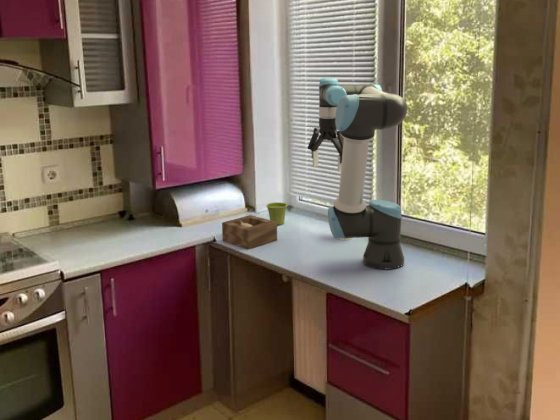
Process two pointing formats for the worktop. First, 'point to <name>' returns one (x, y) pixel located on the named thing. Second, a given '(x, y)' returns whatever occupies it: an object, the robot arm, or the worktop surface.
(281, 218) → the plant pot
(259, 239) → the walnut well
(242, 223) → the garlic bulb
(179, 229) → the worktop surface
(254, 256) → the worktop surface
